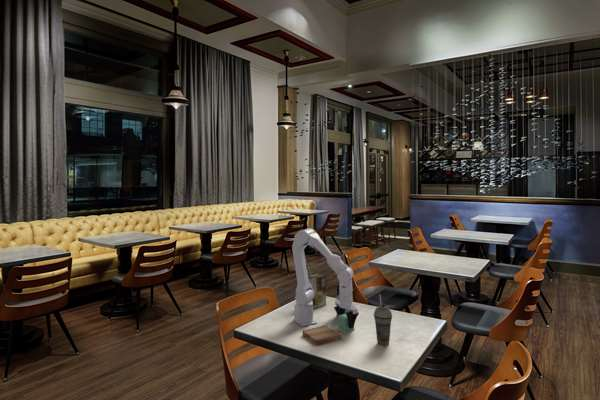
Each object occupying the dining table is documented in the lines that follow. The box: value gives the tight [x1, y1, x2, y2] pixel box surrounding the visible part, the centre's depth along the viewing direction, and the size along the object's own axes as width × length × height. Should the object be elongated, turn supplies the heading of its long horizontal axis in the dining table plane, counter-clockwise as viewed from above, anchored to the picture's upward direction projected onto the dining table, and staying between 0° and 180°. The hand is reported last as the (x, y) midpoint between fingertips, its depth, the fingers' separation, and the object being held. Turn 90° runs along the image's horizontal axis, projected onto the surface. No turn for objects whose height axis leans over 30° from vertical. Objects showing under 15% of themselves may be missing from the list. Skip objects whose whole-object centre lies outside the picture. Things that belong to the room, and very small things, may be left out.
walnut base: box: [302, 324, 343, 346], centre depth 154 cm, size 12×12×2 cm
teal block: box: [337, 314, 355, 333], centre depth 162 cm, size 5×5×6 cm
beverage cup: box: [373, 293, 393, 347], centre depth 146 cm, size 7×7×20 cm
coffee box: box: [308, 273, 327, 309], centre depth 195 cm, size 9×6×16 cm
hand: (346, 325), depth 162 cm, fingers open, 7 cm apart
